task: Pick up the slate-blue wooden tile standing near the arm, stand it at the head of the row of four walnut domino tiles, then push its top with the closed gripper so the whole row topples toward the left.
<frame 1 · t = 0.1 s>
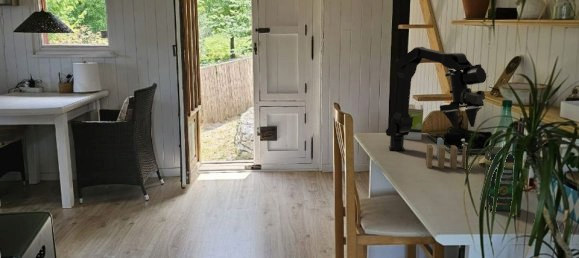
hand: (464, 128, 204), 15 cm above the table, tool pointing down, fingers open, 9 cm apart
domino 4: (452, 167, 208), on the table
domino 2: (428, 166, 209), on the table
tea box: (410, 136, 261), on the table
domino 1: (439, 158, 221), on the table
domino 3: (440, 166, 208), on the table
domino 5: (465, 167, 207), on the table
coffee jar: (496, 207, 164), on the table
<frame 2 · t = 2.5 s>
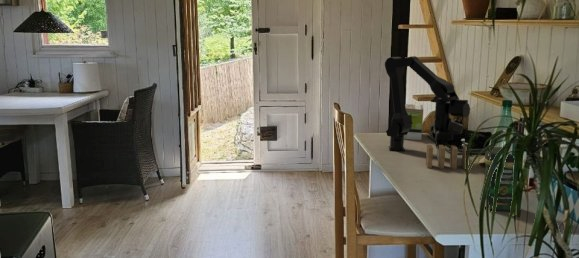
hand: (439, 152, 220), 3 cm above the table, tool pointing down, fingers closed on domino 1, 5 cm apart
domino 1: (439, 158, 221), on the table, touching gripper
everything else where it was.
when the fingers open (3 cm above the table, at t = 6.7 s): domino 1 stays where it is, on the table.
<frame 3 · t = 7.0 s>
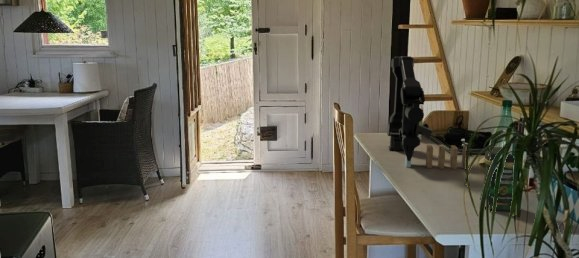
hand: (407, 158, 209), 3 cm above the table, tool pointing down, fingers open, 8 cm apart
domino 1: (407, 165, 209), on the table
everything else where it was.
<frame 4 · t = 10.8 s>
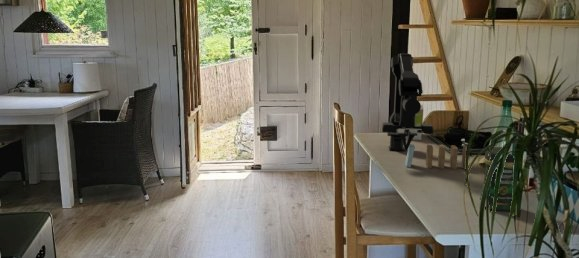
hand: (405, 150, 208), 6 cm above the table, tool pointing down, fingers closed
domino 1: (407, 165, 209), on the table, tilted 9°
everything else where it was.
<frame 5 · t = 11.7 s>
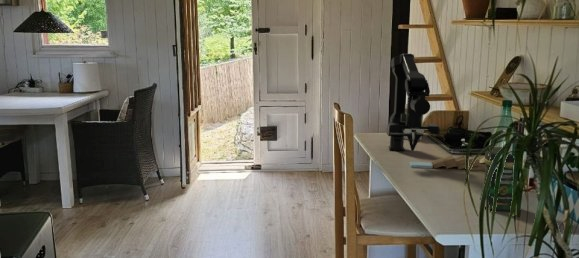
hand: (412, 150, 208), 6 cm above the table, tool pointing down, fingers closed
domino 4: (456, 165, 207), point 1 cm above the table, tilted 76°, touching domino 3
domino 2: (432, 164, 208), point 1 cm above the table, tilted 69°, touching domino 3
domino 1: (410, 165, 209), on the table, tilted 90°
domino 3: (444, 165, 208), point 1 cm above the table, tilted 69°, touching domino 2, domino 4
domino 5: (467, 167, 207), on the table, tilted 90°
everything else where it was.
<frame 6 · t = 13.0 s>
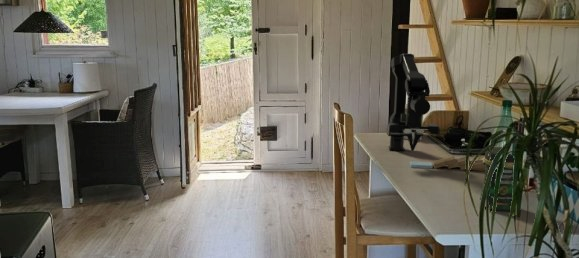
hand: (412, 150, 208), 6 cm above the table, tool pointing down, fingers closed
domino 4: (460, 165, 206), point 1 cm above the table, tilted 77°, touching domino 3, domino 5
domino 3: (447, 165, 208), point 1 cm above the table, tilted 69°, touching domino 2, domino 4
domino 5: (469, 168, 207), on the table, tilted 90°, touching domino 4
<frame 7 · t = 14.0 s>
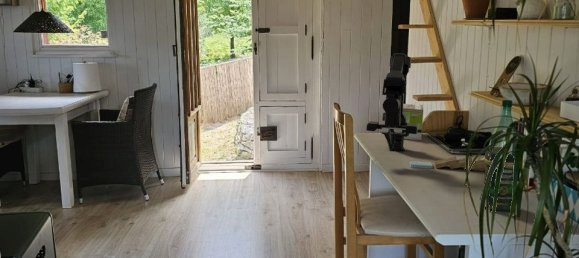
hand: (390, 149, 209), 6 cm above the table, tool pointing down, fingers closed
domino 4: (464, 166, 206), point 1 cm above the table, tilted 75°, touching domino 3, domino 5
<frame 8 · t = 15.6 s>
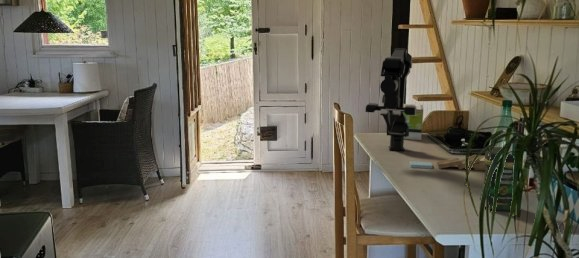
hand: (389, 131, 211), 12 cm above the table, tool pointing down, fingers closed
domino 4: (472, 163, 206), point 2 cm above the table, tilted 90°, touching domino 5
domino 2: (438, 164, 208), point 1 cm above the table, tilted 76°
domino 3: (457, 166, 207), point 1 cm above the table, tilted 63°
at the end: domino 5 tilted 90°; domino 1 tilted 90° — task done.
